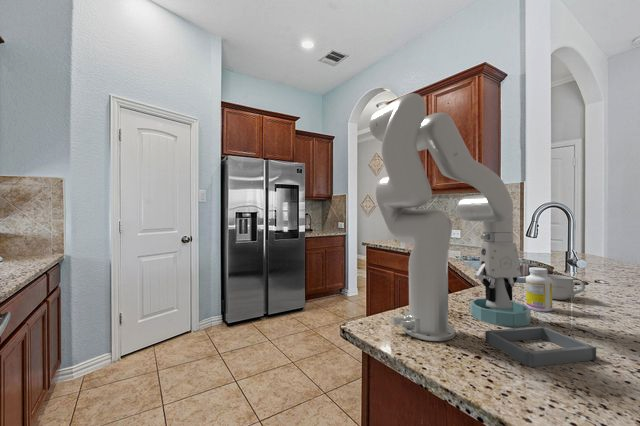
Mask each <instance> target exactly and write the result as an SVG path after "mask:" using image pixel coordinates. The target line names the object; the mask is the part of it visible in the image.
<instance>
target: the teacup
mask: <svg viewBox="0 0 640 426" xmlns="http://www.w3.org/2000/svg"><path fill="white" fill-rule="evenodd" d="M547 277H549V278H550V279H551V280H552V300H562V301H563V300H568V299H569V298H571V297H575V295H577V294H581V293H582V292H584V291H585V290H586V285H585V283H584V282H583V281H581V280H579V279H575V278H574V277H571V276H567V275H566V276H565V275H559V274H548V273H547ZM576 284H579V285H580V288H579V289H577V290H574V288H575V285H576Z"/></svg>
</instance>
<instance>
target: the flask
mask: <svg viewBox="0 0 640 426" xmlns="http://www.w3.org/2000/svg"><path fill="white" fill-rule="evenodd" d="M493 288H495V289H496V300H495V302H492V301H489V300H487V301H486V306H488V307H490V308H492V309H499V310H514V309H513V306H512V303H511V301H510V298H509V296H508V293H507V291H506V288H505V284H504V278H495V282H494V287H493Z"/></svg>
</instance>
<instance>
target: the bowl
mask: <svg viewBox="0 0 640 426" xmlns="http://www.w3.org/2000/svg"><path fill="white" fill-rule="evenodd" d="M486 301H487V300H486V297H479V298H478V297H477V298H474V299H472V300H470V301H469V307H470V309H469V311H470V315H471V317H473V318H475V319H476V320H479V321H481V322H484V323H488V324H491V325H496V326H501V327H502V326H504V327H513V328H514V327H516V328H517V327H525V326H526V327H527V326H528V325H529V324H530V323H531V322H532V321H531V309H529V308H528V307H527V305H526V304H523V303H520V302H517V301H513V300H512V301H511V303H512V306H513V309H514V310H499V309H492V308H490V307H488V306H486Z"/></svg>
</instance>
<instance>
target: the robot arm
mask: <svg viewBox="0 0 640 426" xmlns="http://www.w3.org/2000/svg"><path fill="white" fill-rule="evenodd" d="M426 106H427V105H426V102H425V99H424V98H423V97H422V95H420V94H418V93H413V92H412V93H408V94H405V95H402V96H399V97H398V98H397V99H395V100H393V101H391V102H389V103H388V104H387V105H385V106H382V107H381V108H379V109H377V110H376V111H375V112H374V113H373V114H372V115H371V117H370V119H369V122H368V123H369V127H368V128H369V130H370V133H371V135H372V136H373V137H374V138H375V139H376V140H378V141H380V142H382V143H381V157H382V161H383V164H384V168H385V171H386V174H387V175H385V176H383V177H382V178H381V179H380V180H379V181H378V183H377V184H376V186H375V199H376V202H377V205H378V209H379V210H380V212H381V215H382V217H383V219H384V222H385V224H386V227H387V230H388V232H389V233H390V234H391V237H392V238H393V239H394V240H396V241H398V242H399V243H404V244H409V245H413V247H412V250H411V252H410V255H409V259H408V311H405V314H403V315H402V316H391V319H390V321H391V325H392V326H398V325H400V328H402V329H403V332H405V333H406V334H407V335H409V336H410V337H413V338H416V339H419V340H423V341H429V342H444V341H446V342H447V341H449V340H451V339H453V338H455V337H456V329H455V328H454V327H453V326H452V325H450V324H449V270H448V269H449V267H448V266H449V263H448V262H449V247H450V242H451V237H452V231H453V226H452V220H451V218H450V217H449V216H448V214H446V213H445V212H443V211H442V210H440V209H435V208H420V207H423V206H425V205H427V204H428V203H429V202H430V200H431V199H432V196H433V195H432V194H433V193H432V187H431V184H430V182H429V178H428V176H427V173H426V170H425V168H424V165H423V163H422V160H421V158H420V154H419V152H421V151H424V150H427V151H428V152H429V154H430V155H431V157H432V158H433V161H434V162H435V164H436V166H437V167H438V169H439V171H440V173H441V175H443V176H444V177H446V178H449V179H452V180H455V181H457V182H460V183H461V182H462V183H464V184H467V185H469V186H471V187H473V188H475V189H476V190H478V191H479V192H480V193H481V194H476V195H467V196H465V197H463V198H461V199H459V201H458V202H457V204H456V209H455V210H456V213H457V215H458V217H459V218H461V220H465V221H467V222H482V225H483V226H482V230H483V232H482V233H483V234H481V235H480V239H481V240H482V241H483V242H482V243H481V246H480V252H479V261H478V262H479V265H478V266H479V267H478V268H479V269H478V270H477V272H476V273H475V275H474V276H475V278H476V279H477V280H478V281H480V282H481V284H482V286H484V287H485V289H484V290H485V298H486V300H489V301H492V302H495V300H496V289H495V288H493V287H494V282H495V278H504V284H505V288H506V291H507V293H508V296H509V298H510V301H513V287H515V283H516V282H517V281H518V280H519V278H520V277H521V276H522V271H521V269H520V267H521V266H520V257H519V251H518V246H517V243H516V242H514V213H513V211H514V204H513V203H514V202H513V199H512V197H511V195H510V193H509V191H508V188H507V185H506V184H505V183H504V181H503V180H502V178H501V177H500V176H499V175H498V174H497V173H495V171H493V170H491V169H490V168H489V167H487V166H486V165H484V164H483V163H481V162H479V161H477V160H475V159H474V158H473V156H472V155H471V153H470V150H469V149H468V147H467V144H466V143H465V141H464V139H463V137H462V135H461V133H460V131H459V130H458V127H457V126H456V124H455V122H454V120H453V119H452V117H451V116H450V114H448V113H446V112H435V113H431V114H428V115H426V114H427V107H426ZM413 208H417V209H413Z"/></svg>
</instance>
